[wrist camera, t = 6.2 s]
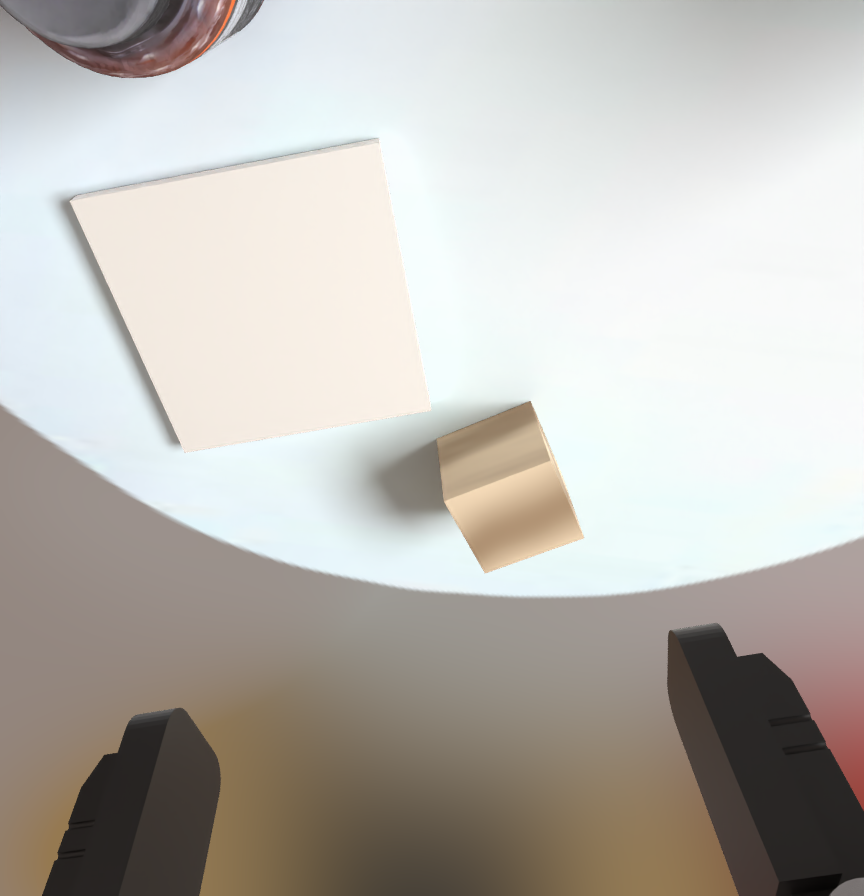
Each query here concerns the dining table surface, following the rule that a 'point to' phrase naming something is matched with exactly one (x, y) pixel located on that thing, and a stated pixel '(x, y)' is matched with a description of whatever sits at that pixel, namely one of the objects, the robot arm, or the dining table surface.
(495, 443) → the beech block
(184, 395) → the pad
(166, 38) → the supplement bottle
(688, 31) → the dining table surface
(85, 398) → the dining table surface
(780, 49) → the dining table surface
